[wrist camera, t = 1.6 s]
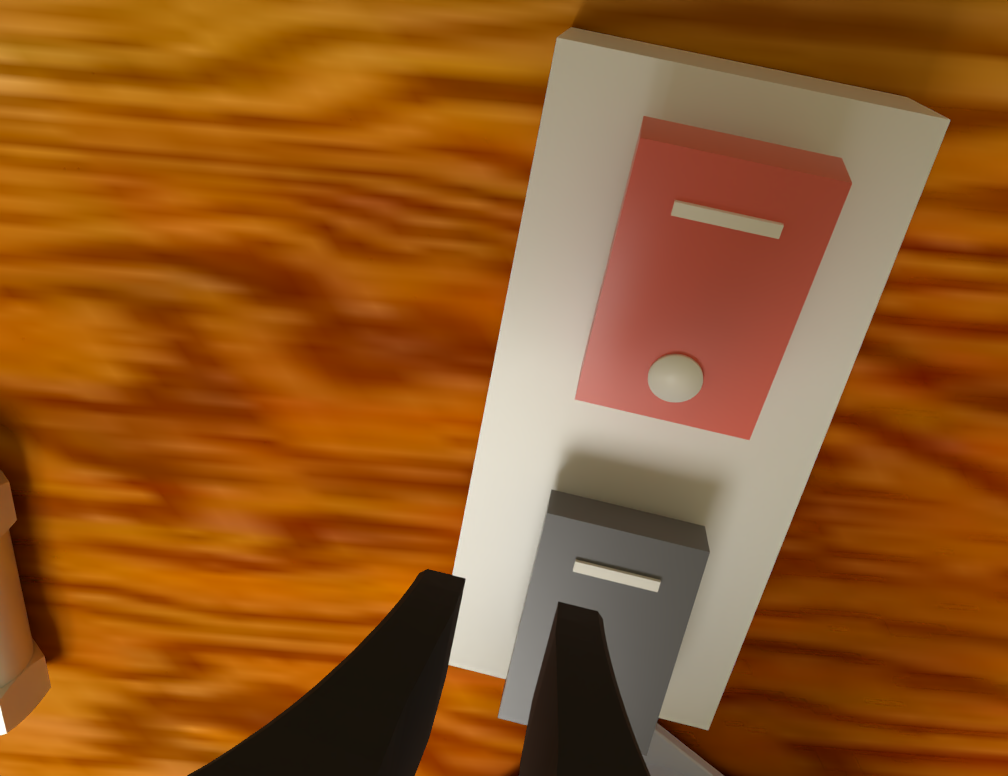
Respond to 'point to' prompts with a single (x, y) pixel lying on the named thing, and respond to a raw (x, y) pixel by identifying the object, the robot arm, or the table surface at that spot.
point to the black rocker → (611, 599)
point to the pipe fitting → (16, 632)
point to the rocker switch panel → (645, 440)
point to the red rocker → (708, 274)
